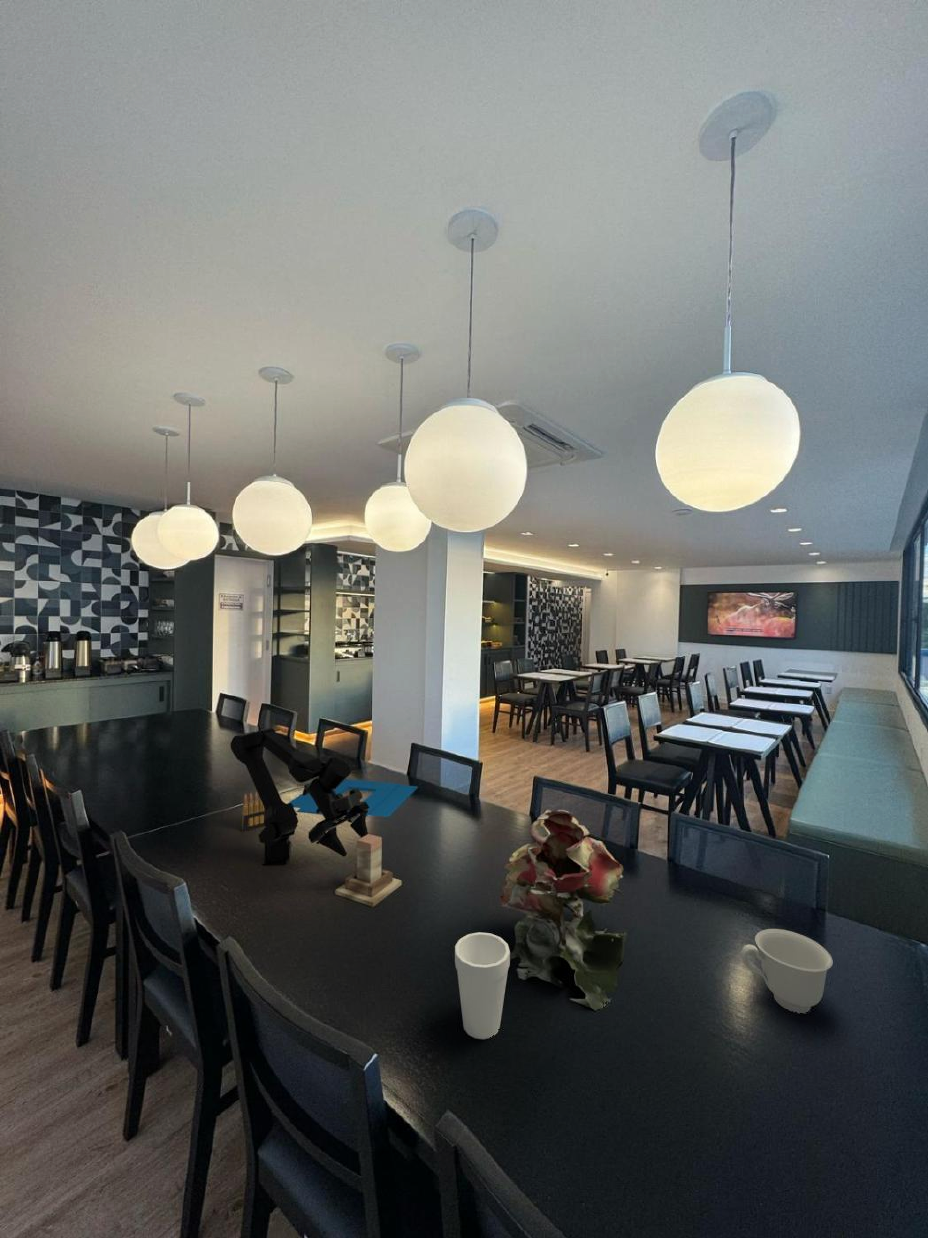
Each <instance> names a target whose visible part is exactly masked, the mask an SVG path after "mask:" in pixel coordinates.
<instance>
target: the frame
mask: <svg viewBox="0 0 928 1238" xmlns="http://www.w3.org/2000/svg"><path fill="white" fill-rule="evenodd" d="M355 788H358V789H359V791H363V792H364V791H365V792H372V793H371V794H370V795H369V796H367V797H366V798H365V799H363V801H364V802H366V803H367V804H368V806H369V807H370V808H369V809H368V813H367V814H366V817H367V816H375V817H385V818H390V816H392V815H393V814H394V813H395V811H397V809H399V807H400V806H401V805H402V804H403V803H405V801H406V800H408V798H410V796H412V795H413V793H414V792H415V791H416V790H417V789H418V788H419V786H415V785H405V784H400V783H393V782H383V781H382V782H381V781H372V780H370V781H369V780H360V779H350V778H349V779H348V778H346V779H345V780H344V781H343V782H342V783H341V784H340V785H339V786H338V787H337V788H336V789H334V791H335V793H336V794H339V793H340V794H342V795H343V794H344V793H345V792H347V791H348V790H353V789H355ZM289 803H292V805H293V807H294V809H296V808H297V811H296V813H303V814H305V813H306V814H312V815H313V814H314V815H322V813H319V814H318V813H317V812H316V810H317V809H318V807H317V805H316V803H315V802H314V800H313V798H312V797H311V795H310V794H307V795H305V796H303V793H301V794H299V795H298V796H297V797H295V798H294V799H292V800H290V801H288V802H287V803H286V804H289ZM348 811H349V810H348ZM348 811H347V812H348Z"/></svg>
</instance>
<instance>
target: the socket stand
mask: <svg viewBox="0 0 928 1238" xmlns="http://www.w3.org/2000/svg"><path fill="white" fill-rule="evenodd" d="M393 876H394V875H393V872H392V871H390V870H386V869H382V868H381V877H380V878H379V879H378V880H376V881H375V882H373V883H372V884H370V883H366V882H363V881H360V880H357V870H356V871H354V873H352V874H349V876H347V877H346V878H344V881H345V882H344V883H343V884H342V885H341V886H339V887H337V888H336V889H335V890H334V894H335V895H336V896H340V897H343V898H346V899H347V900H348V899H349V900H351V901H355V902H357V903H360V904H364V905H367V906H369V907H373V908H374V907H375V906H376V905H378V904H379V903H380V902H381V901H383V900H384V899H385V898H387V897H388V896H389V895H390V894H391V893H393V892H394V891H396V890H397V889H398V888H399V887H401V886H402V883H403V882H402V880H401V879H398V878H395V877H393Z"/></svg>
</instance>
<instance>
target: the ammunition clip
mask: <svg viewBox="0 0 928 1238" xmlns="http://www.w3.org/2000/svg"><path fill="white" fill-rule="evenodd" d="M248 796H249V797H248ZM248 796H247V794H246V793H244V795H243V801H242V803H243V804H242V815H241V826H240V827H241V828H240V829H241V831H242V832H247V831H251V830H254V829H259V828H263V827H265V824H264V816H265V808H264V806H263V803H262V801H261V799H260V798H259V794H258V792H257V790H256V791H255V792H254V798H253V793H252V792H250V793H249V795H248Z"/></svg>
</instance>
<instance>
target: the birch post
mask: <svg viewBox="0 0 928 1238" xmlns="http://www.w3.org/2000/svg"><path fill="white" fill-rule="evenodd" d="M382 839H383V838H382V837H381V836H378V835H373V834H370V833H368V834H367V835H366V836H364V837H362V838H361V837H359V838H358V839H357V843H356V846H357V847H356V848H357V849H356V850H357V851H356V852H357V853H356V862H357V863H356V871H357V880H360V881H363V882H366V883H370V884H372V883H373V882H375V881H376V880H378V879H379V878H380V877H381V869H382V858H383V856H382V853H383V852H382V851H383V850H382V849H383V848H382V845H383V843H382V842H383V841H382Z"/></svg>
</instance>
